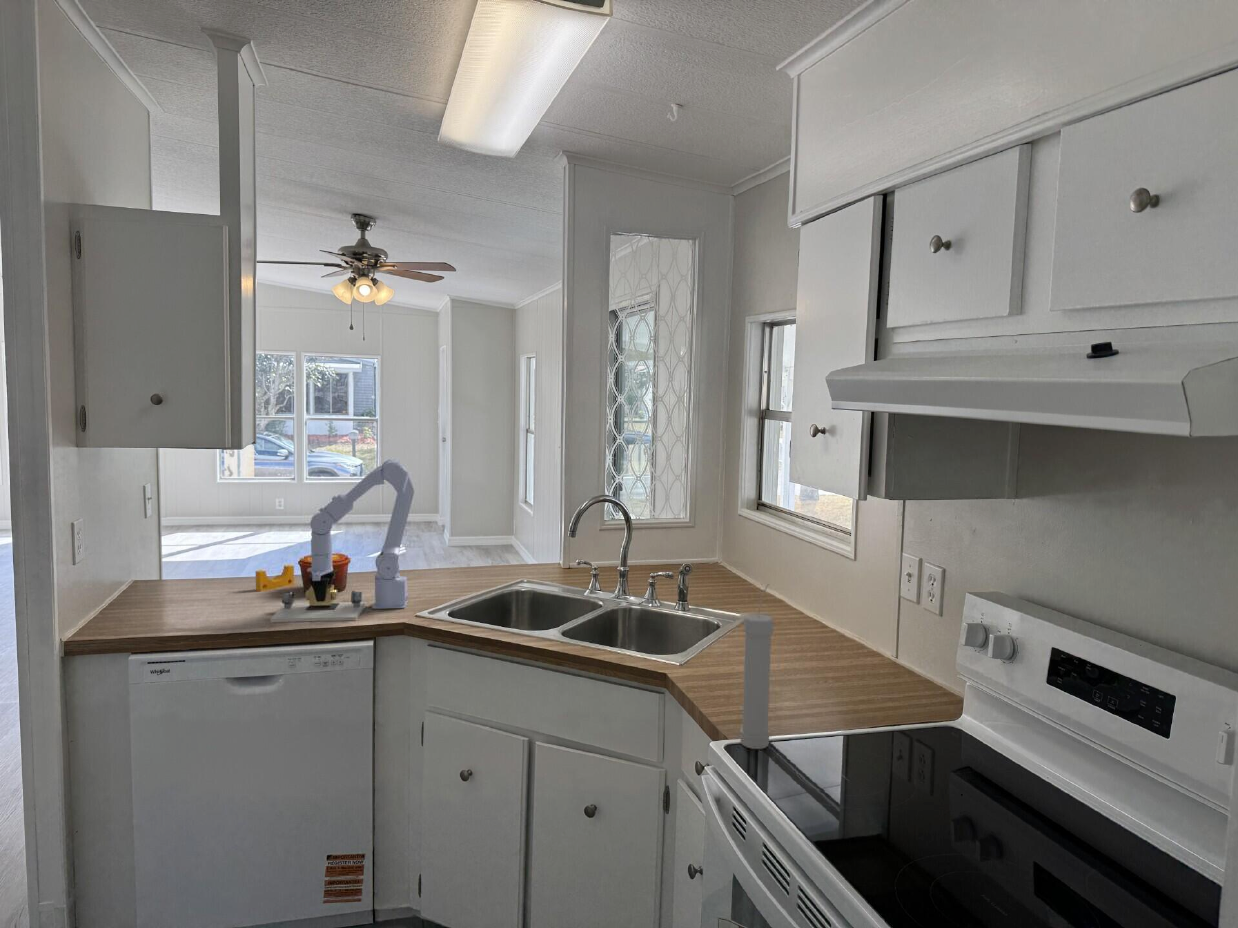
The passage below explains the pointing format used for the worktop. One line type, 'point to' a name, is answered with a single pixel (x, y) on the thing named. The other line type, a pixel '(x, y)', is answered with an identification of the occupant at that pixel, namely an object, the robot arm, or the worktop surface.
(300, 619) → the pipe board
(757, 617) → the grey piece
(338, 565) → the food container
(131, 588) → the worktop surface
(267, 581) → the pipe clamp
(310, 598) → the brass valve
